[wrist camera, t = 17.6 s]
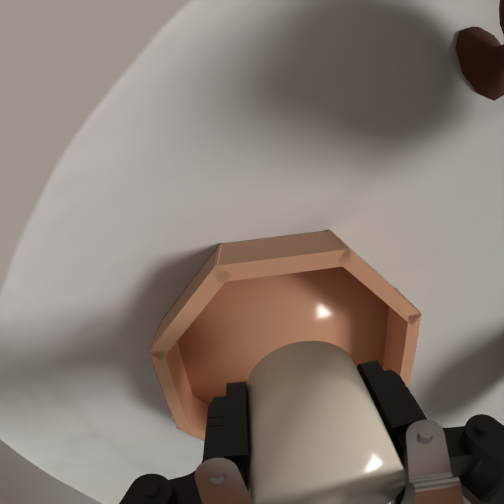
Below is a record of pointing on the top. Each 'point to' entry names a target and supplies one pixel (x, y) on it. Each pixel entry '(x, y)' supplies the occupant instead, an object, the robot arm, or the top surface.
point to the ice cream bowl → (483, 59)
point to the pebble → (317, 431)
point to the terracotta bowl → (276, 317)
